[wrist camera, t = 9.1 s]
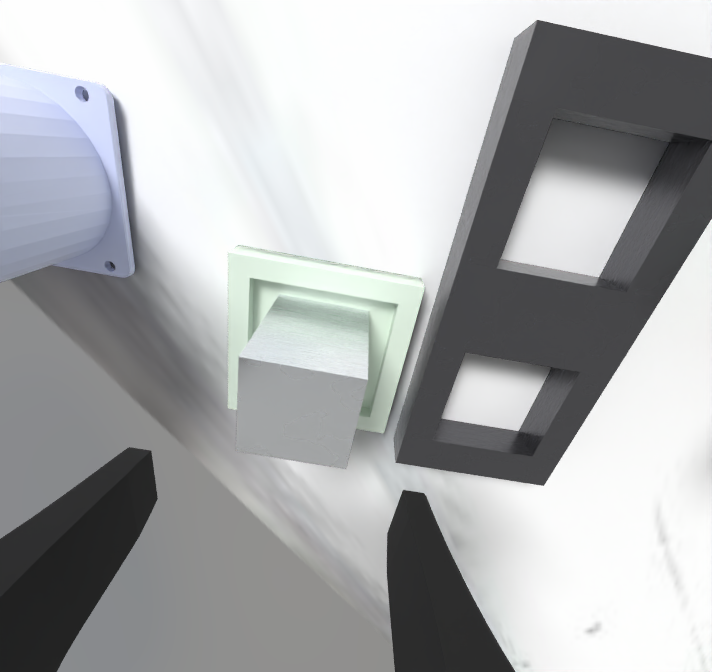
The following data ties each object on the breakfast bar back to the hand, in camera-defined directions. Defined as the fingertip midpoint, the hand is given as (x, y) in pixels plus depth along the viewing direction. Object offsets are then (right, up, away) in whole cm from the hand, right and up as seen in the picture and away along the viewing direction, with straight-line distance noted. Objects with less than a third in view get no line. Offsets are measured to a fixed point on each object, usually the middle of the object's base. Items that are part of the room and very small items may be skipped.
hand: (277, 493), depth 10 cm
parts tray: (0, +4, +9) cm, 10 cm away
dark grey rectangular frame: (+11, +6, +7) cm, 15 cm away
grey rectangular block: (0, +4, +8) cm, 9 cm away
